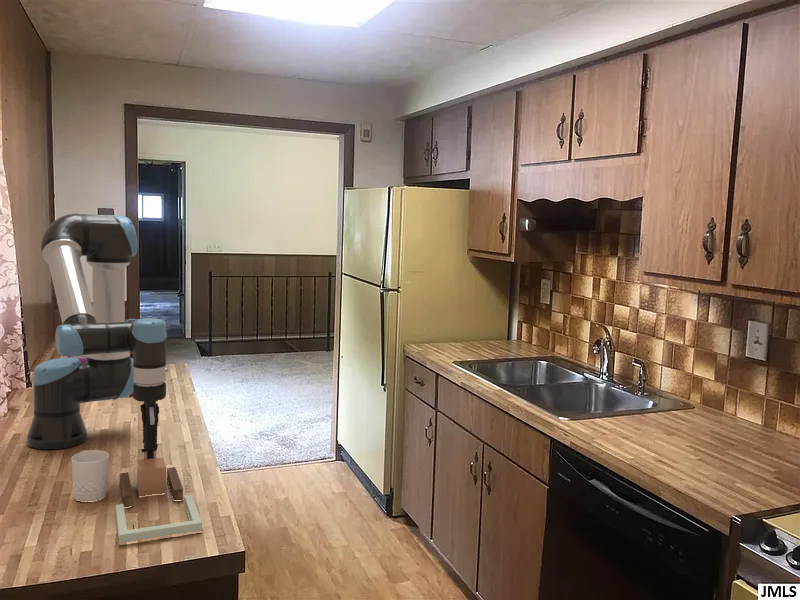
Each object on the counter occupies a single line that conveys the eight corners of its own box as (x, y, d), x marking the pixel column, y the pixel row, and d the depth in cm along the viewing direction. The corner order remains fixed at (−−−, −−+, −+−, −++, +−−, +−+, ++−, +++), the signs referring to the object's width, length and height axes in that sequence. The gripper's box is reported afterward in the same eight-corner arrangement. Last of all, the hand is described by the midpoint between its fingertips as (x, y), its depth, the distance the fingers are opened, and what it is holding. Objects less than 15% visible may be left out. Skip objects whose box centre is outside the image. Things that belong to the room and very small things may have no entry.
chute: (122, 509, 148) (122, 496, 147) (119, 485, 160) (119, 473, 160) (182, 501, 154) (183, 488, 153) (175, 478, 166) (175, 466, 166)
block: (138, 498, 154) (139, 470, 153) (137, 487, 159) (137, 460, 158) (165, 494, 157) (166, 467, 155) (163, 483, 162) (163, 457, 161)
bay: (119, 546, 132) (119, 535, 132) (115, 515, 145) (115, 504, 145) (201, 533, 139) (202, 522, 139) (191, 504, 152) (191, 494, 152)
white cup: (114, 490, 157) (114, 450, 156) (100, 505, 149) (100, 463, 148) (81, 489, 157) (80, 449, 156) (65, 503, 149) (64, 461, 148)
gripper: (169, 388, 155) (169, 483, 158) (163, 375, 166) (162, 463, 169) (135, 390, 152) (135, 487, 155) (131, 377, 163) (131, 467, 166)
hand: (149, 474), depth 162 cm, fingers closed
